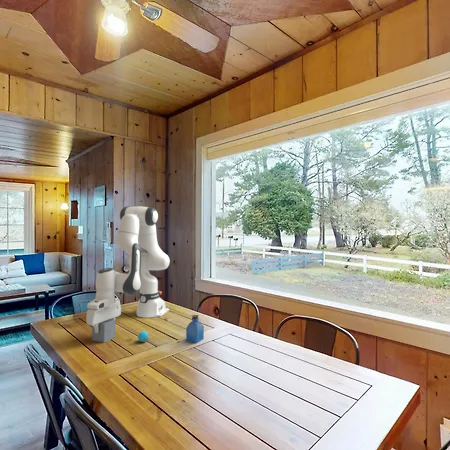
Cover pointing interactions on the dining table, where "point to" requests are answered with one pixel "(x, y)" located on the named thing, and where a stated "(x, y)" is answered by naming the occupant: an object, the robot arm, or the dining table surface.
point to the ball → (143, 336)
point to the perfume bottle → (195, 330)
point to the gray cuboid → (104, 331)
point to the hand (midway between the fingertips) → (104, 329)
